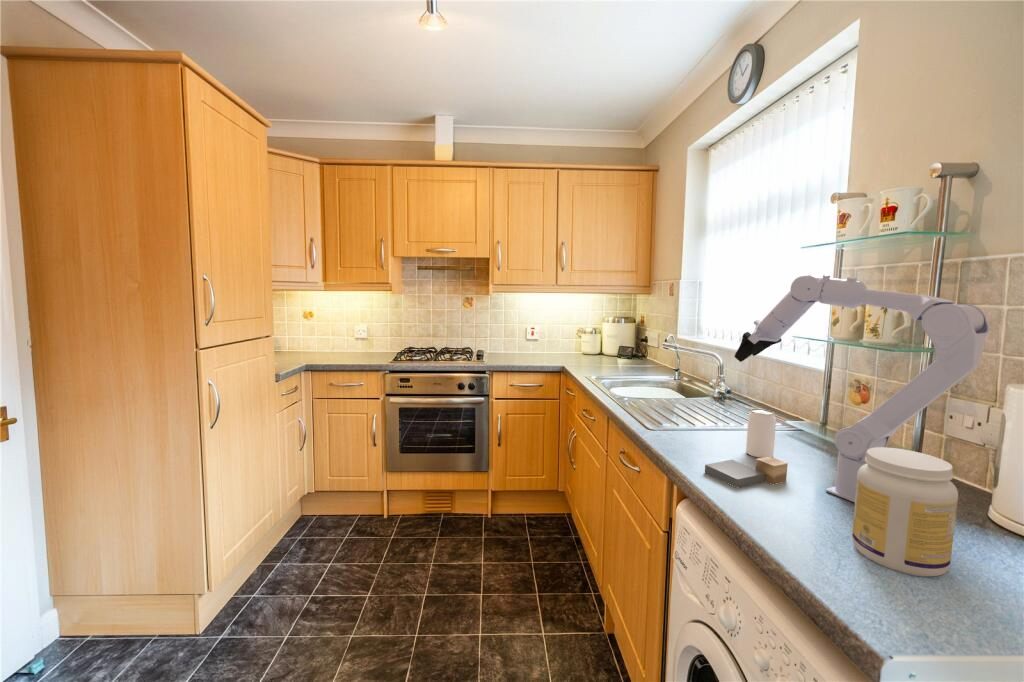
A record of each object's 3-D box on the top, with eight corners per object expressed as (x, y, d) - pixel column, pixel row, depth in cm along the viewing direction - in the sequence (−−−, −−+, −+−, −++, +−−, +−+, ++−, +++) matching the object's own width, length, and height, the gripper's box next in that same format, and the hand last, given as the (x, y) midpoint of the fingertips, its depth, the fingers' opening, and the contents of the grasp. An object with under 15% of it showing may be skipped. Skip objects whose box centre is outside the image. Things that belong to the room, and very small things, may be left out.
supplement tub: (946, 555, 73) (958, 457, 71) (952, 592, 63) (966, 480, 62) (853, 528, 81) (862, 440, 79) (847, 557, 72) (856, 458, 70)
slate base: (764, 481, 101) (765, 473, 100) (737, 488, 97) (737, 479, 97) (731, 467, 109) (732, 459, 109) (704, 472, 105) (705, 464, 105)
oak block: (786, 481, 101) (787, 463, 100) (772, 485, 99) (774, 465, 99) (768, 474, 105) (769, 456, 105) (754, 477, 103) (756, 458, 103)
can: (766, 451, 121) (769, 408, 119) (778, 459, 114) (781, 415, 113) (741, 449, 121) (744, 407, 120) (752, 458, 115) (755, 414, 114)
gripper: (780, 303, 112) (745, 340, 120) (755, 310, 103) (719, 350, 112) (804, 321, 108) (766, 358, 117) (780, 331, 100) (740, 370, 108)
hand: (744, 356), depth 114 cm, fingers open, 7 cm apart
